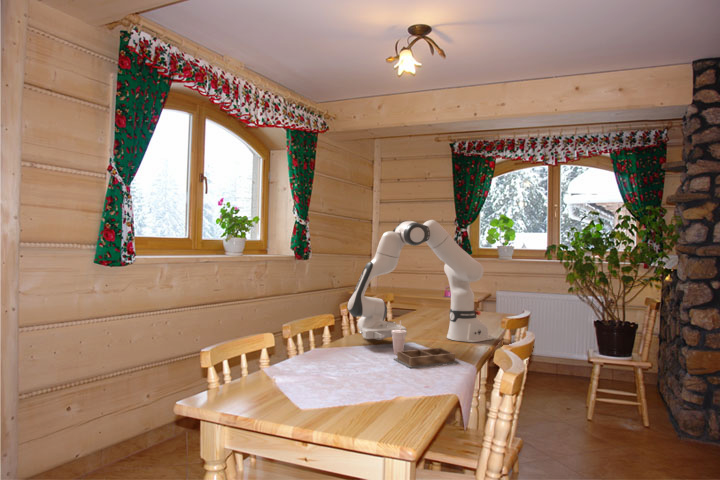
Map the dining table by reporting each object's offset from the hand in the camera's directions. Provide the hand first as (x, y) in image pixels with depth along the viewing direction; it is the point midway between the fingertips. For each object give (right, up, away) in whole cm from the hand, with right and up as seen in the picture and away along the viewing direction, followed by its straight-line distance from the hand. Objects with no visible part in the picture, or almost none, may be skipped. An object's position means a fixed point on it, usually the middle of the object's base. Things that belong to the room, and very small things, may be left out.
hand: (392, 335), depth 205 cm
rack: (+12, -7, -16) cm, 21 cm away
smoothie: (+2, -7, -5) cm, 9 cm away
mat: (+12, -7, -16) cm, 21 cm away
